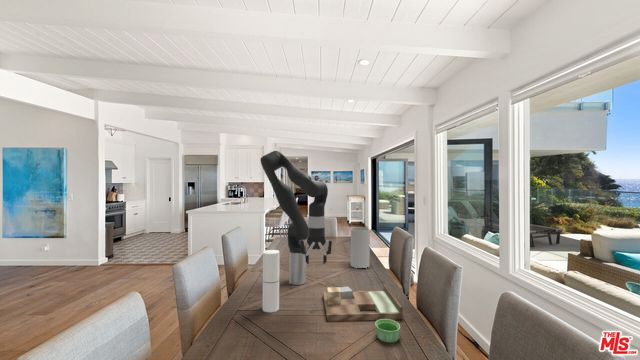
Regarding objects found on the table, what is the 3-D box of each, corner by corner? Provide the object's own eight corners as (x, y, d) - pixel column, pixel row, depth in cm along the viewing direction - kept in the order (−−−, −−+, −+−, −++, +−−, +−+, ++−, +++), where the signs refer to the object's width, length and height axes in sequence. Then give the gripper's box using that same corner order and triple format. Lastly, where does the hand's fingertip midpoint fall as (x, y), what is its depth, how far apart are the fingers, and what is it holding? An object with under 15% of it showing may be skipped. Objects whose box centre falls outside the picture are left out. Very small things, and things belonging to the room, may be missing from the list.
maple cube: (328, 304, 121) (328, 292, 121) (327, 299, 126) (327, 287, 127) (340, 304, 121) (340, 291, 121) (339, 299, 127) (339, 287, 127)
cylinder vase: (370, 269, 179) (371, 230, 179) (351, 269, 179) (351, 230, 179) (367, 263, 191) (368, 227, 192) (349, 263, 191) (350, 227, 192)
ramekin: (383, 327, 107) (383, 316, 107) (404, 337, 101) (405, 324, 101) (369, 336, 101) (370, 324, 101) (391, 347, 95) (391, 334, 95)
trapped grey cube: (341, 304, 128) (341, 292, 128) (337, 299, 133) (337, 287, 133) (352, 302, 129) (352, 290, 130) (347, 297, 135) (347, 286, 135)
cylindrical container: (265, 313, 117) (265, 254, 118) (260, 307, 124) (261, 250, 124) (281, 310, 121) (281, 252, 121) (275, 303, 127) (276, 249, 127)
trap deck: (327, 321, 112) (327, 308, 112) (323, 296, 136) (323, 286, 136) (402, 319, 113) (402, 307, 114) (385, 295, 137) (385, 285, 137)
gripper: (300, 227, 120) (299, 266, 119) (333, 227, 120) (332, 265, 120) (300, 224, 127) (300, 261, 127) (331, 224, 128) (331, 261, 128)
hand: (316, 263), depth 124 cm, fingers open, 6 cm apart
